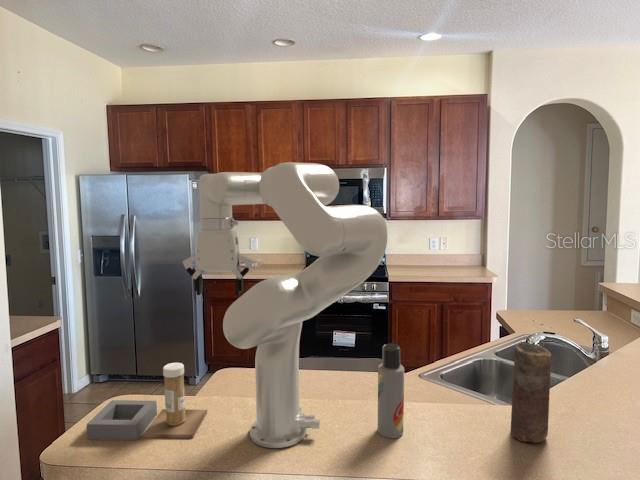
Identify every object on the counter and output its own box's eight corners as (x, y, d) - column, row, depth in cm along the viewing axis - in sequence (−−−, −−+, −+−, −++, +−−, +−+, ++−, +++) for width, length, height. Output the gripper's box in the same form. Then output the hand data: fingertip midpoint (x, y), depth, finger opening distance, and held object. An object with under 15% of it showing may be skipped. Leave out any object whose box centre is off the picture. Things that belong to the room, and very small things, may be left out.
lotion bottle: (408, 431, 100) (409, 345, 98) (394, 442, 96) (395, 352, 94) (387, 422, 104) (388, 339, 102) (372, 432, 100) (373, 345, 98)
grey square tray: (157, 414, 109) (156, 400, 108) (137, 440, 98) (136, 424, 97) (112, 413, 109) (111, 400, 109) (87, 439, 98) (86, 424, 98)
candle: (518, 423, 103) (522, 339, 101) (552, 435, 98) (557, 347, 96) (504, 436, 98) (508, 348, 96) (539, 450, 93) (544, 357, 90)
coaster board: (207, 412, 109) (207, 409, 109) (193, 438, 98) (192, 434, 98) (162, 412, 110) (162, 409, 109) (143, 437, 99) (143, 434, 99)
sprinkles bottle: (188, 422, 103) (186, 366, 102) (168, 428, 101) (165, 371, 99) (183, 414, 107) (180, 360, 105) (163, 419, 104) (160, 364, 103)
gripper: (254, 223, 112) (256, 290, 115) (186, 223, 113) (189, 290, 115) (249, 226, 105) (251, 297, 107) (176, 226, 106) (179, 297, 108)
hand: (219, 293), depth 111 cm, fingers open, 9 cm apart
